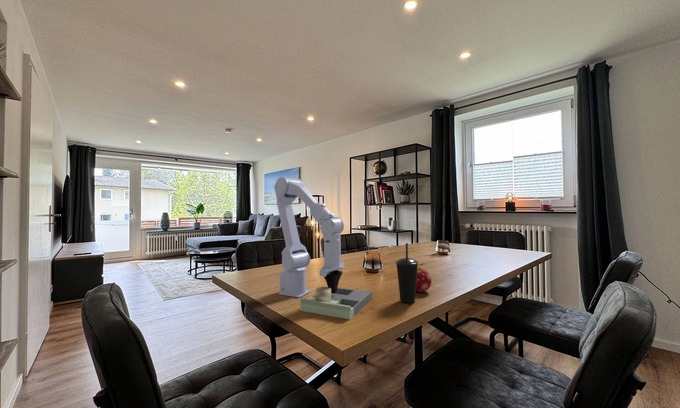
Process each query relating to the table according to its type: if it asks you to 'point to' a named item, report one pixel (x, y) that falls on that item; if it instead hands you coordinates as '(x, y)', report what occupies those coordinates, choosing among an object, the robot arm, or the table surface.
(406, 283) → the drinking cup
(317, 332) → the table surface
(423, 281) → the christmas ornament
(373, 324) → the table surface
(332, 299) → the trap deck
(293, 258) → the robot arm
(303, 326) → the table surface
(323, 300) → the beige rounded cylinder
